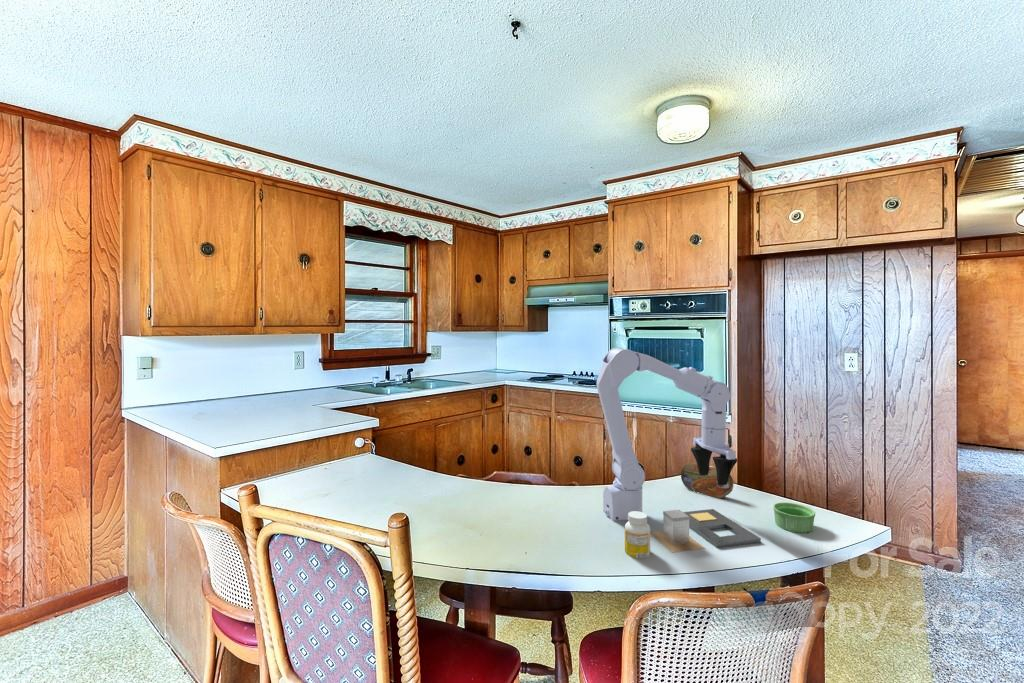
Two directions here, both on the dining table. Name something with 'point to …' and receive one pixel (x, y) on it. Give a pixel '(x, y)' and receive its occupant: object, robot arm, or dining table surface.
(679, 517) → the steel peg
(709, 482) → the tin
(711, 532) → the rack plate
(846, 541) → the dining table surface
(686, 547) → the pad
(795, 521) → the ramekin
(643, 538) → the supplement bottle
